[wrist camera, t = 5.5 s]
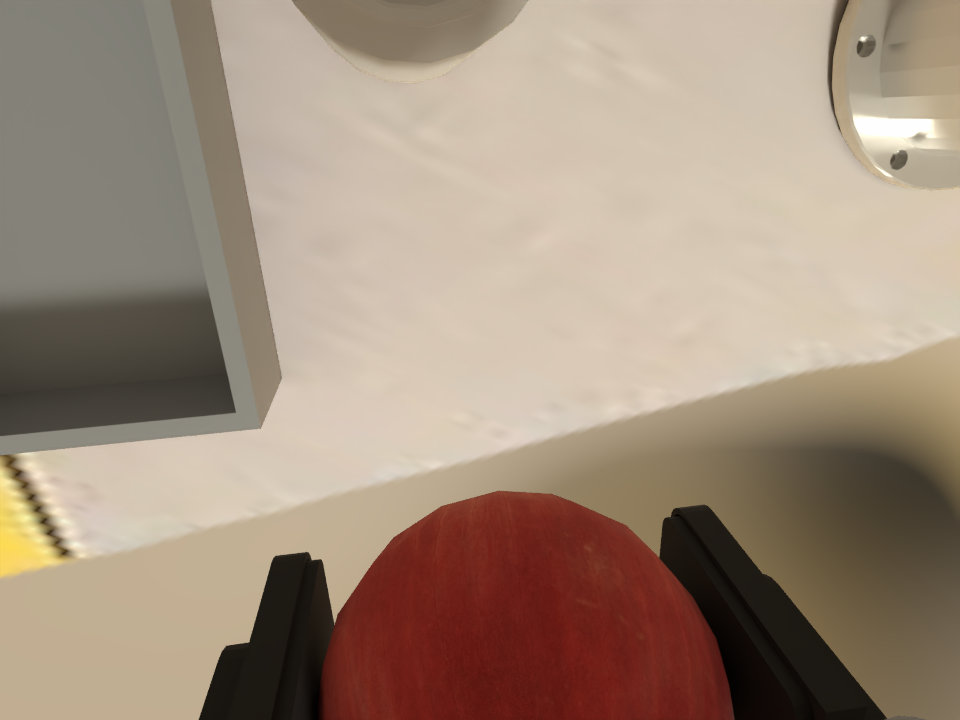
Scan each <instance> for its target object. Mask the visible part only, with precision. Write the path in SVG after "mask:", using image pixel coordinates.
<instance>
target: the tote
mask: <svg viewBox="0 0 960 720" xmlns="http://www.w3.org/2000/svg"><path fill="white" fill-rule="evenodd" d="M281 379H282V377H281V372H280V366H279V361H278V356H277V351H276V345H275V340H274V335H273V329H272V324H271V319H270V314H269V308H268V303H267V298H266V292H265V287H264V282H263V276H262V271H261V266H260V261H259V255H258V250H257V245H256V239H255V234H254V229H253V224H252V218H251V213H250V208H249V202H248V197H247V192H246V186H245V181H244V176H243V171H242V165H241V160H240V155H239V149H238V144H237V139H236V134H235V128H234V123H233V118H232V112H231V107H230V102H229V96H228V91H227V86H226V81H225V75H224V70H223V65H222V59H221V54H220V49H219V44H218V38H217V33H216V28H215V22H214V17H213V12H212V7H211V1H210V0H0V455H7V454H16V453H26V452H36V451H46V450H56V449H65V448H75V447H85V446H95V445H104V444H114V443H124V442H134V441H143V440H153V439H163V438H173V437H182V436H192V435H202V434H212V433H222V432H231V431H241V430H251V429H261V427H262V424H263V422H264V420H265V417H266V415H267V412H268V410H269V408H270V405H271V403H272V400H273V398H274V396H275V393H276V391H277V388H278V386H279V384H280V381H281Z"/></svg>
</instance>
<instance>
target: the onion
mask: <svg viewBox="0 0 960 720" xmlns="http://www.w3.org/2000/svg"><path fill="white" fill-rule="evenodd" d="M317 720H735V719H734V713H733V707H732V700H731V694H730V688H729V683H728V680H727V676H726V672H725V669H724V665H723V661H722V658H721V654H720V650H719V646H718V643H717V639H716V637H715V636H714V634H713V632H712V630H711V628H710V627H709V625H708V623H707V621H706V619H705V618H704V616H703V614H702V612H701V610H700V609H699V607H698V605H697V603H696V602H695V600H694V598H693V596H692V595H691V594H690V593H689V592H688V591H687V590H686V588H685V587H684V586H683V585H682V584H681V583H680V582H679V580H678V579H677V578H676V577H675V576H674V575H673V573H672V572H671V571H670V570H669V569H668V568H667V567H666V565H665V564H664V563H663V562H662V561H661V560H660V559H659V557H658V556H657V555H656V554H655V553H654V552H653V551H652V550H651V549H650V548H649V547H648V546H647V545H646V544H645V543H644V542H643V541H642V540H641V539H639V537H637V535H636V534H634V532H632V531H631V530H630V529H629V528H628V527H627V526H626V525H624V524H622V523H620V522H617V521H615V520H613V519H611V518H608V517H606V516H604V515H602V514H599V513H597V512H595V511H592V510H590V509H588V508H586V507H583V506H581V505H579V504H577V503H574V502H572V501H569V500H566V499H564V498H561V497H558V496H556V495H553V494H542V493H526V492H508V491H496V492H492V493H489V494H485V495H481V496H477V497H474V498H470V499H466V500H463V501H459V502H456V503H452V504H448V505H444V506H441V507H440V508H438V509H437V510H435V511H434V512H432V513H430V514H429V515H427V516H426V517H424V518H423V519H421V520H420V521H418V522H417V523H415V524H414V525H412V526H411V527H409V528H408V529H406V530H405V531H403V532H401V533H400V534H398V535H397V536H395V537H394V538H393V539H392V540H391V541H390V543H389V544H388V545H387V546H386V548H385V549H384V550H383V551H382V553H381V554H380V555H379V556H378V558H377V559H376V560H375V561H374V563H373V564H372V565H371V567H370V568H369V569H368V571H367V572H366V574H365V575H364V577H363V578H362V580H361V581H360V583H359V584H358V586H357V587H356V589H355V590H354V592H353V593H352V594H351V596H350V597H349V599H348V600H347V602H346V603H345V605H344V606H343V608H342V609H341V611H340V612H339V613H338V615H337V619H336V622H335V626H334V629H333V632H332V636H331V639H330V643H329V646H328V649H327V653H326V656H325V660H324V663H323V668H322V676H321V683H320V691H319V698H318V705H317Z"/></svg>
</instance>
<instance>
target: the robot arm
mask: <svg viewBox="0 0 960 720" xmlns="http://www.w3.org/2000/svg"><path fill="white" fill-rule="evenodd" d="M832 91H833V100H834V108H835V114H836V117H837V120H838V123H839V127H840V130H841V133H842V136H843V138H844V140H845V141H846V143H847V145H848V146H849V148H850V150H851V151H852V153H853V155H854V156H855V157H856V158H857V159H858V160H859V161H860V162H861V164H862V165H863V166H864V167H865V168H866V169H867V170H868V171H869V172H871V173H873V174H874V175H876V176H878V177H879V178H881V179H883V180H884V181H886V182H889V183H892V184H896V185H899V186H903V187H906V188H914V189H923V190H930V191H932V190H947V189H956V188H959V187H960V0H849V1H848V4H847V7H846V10H845V12H844V15H843V18H842V21H841V23H840V27H839V32H838V36H837V41H836V46H835V51H834V56H833V73H832ZM659 559H660V560H661V561H662V562H663V563H664V564H665V565H666V567H667V568H668V569H669V570H670V571H671V572H672V573H673V575H674V576H675V577H676V578H677V579H678V580H679V582H680V583H681V584H682V585H683V586H684V587H685V588H686V590H687V591H688V592H689V593H690V594H691V595H692V596H693V598H694V600H695V602H696V603H697V605H698V607H699V609H700V610H701V612H702V614H703V616H704V618H705V619H706V621H707V623H708V625H709V627H710V628H711V630H712V632H713V634H714V636H715V637H716V639H717V643H718V646H719V650H720V654H721V658H722V661H723V665H724V669H725V672H726V676H727V680H728V683H729V688H730V694H731V700H732V707H733V713H734V719H735V720H925V719H922V718H918V717H912V716H911V717H910V716H895V717H892V718H889V719H887V718H886V717H885V715H884V714H883V713H882V712H881V710H880V709H879V708H878V707H877V706H876V704H875V703H874V702H873V701H872V699H871V698H870V697H869V696H868V694H867V693H866V692H865V691H864V690H863V688H862V687H861V686H860V685H859V683H858V682H857V681H856V680H855V678H854V677H853V676H852V675H851V674H850V672H849V671H848V670H847V669H846V668H845V666H844V665H843V664H842V663H841V661H840V660H839V659H838V657H837V656H836V655H835V654H834V652H833V651H832V650H831V649H830V648H829V646H828V645H827V644H826V643H825V641H824V640H823V639H822V638H821V636H820V635H819V634H818V633H817V632H816V630H815V629H814V628H813V627H812V625H811V624H810V623H809V622H808V620H807V619H806V618H805V617H804V616H803V614H802V613H801V612H800V611H799V609H798V608H797V607H796V606H795V605H794V603H793V602H792V601H791V599H790V598H789V597H788V596H787V595H786V593H785V592H784V591H783V590H782V589H781V587H780V586H779V585H778V584H777V583H776V582H775V581H774V580H773V579H772V578H771V577H769V576H767V575H765V574H762V573H761V571H760V570H759V569H758V568H757V566H756V565H755V564H754V563H753V561H752V560H751V559H750V558H749V557H748V555H747V554H746V553H745V551H744V550H743V549H742V547H741V546H740V545H739V544H738V542H737V541H736V540H735V539H734V537H733V536H732V535H731V534H730V532H729V531H728V530H727V529H726V527H725V526H724V525H723V524H722V522H721V521H720V520H719V519H718V517H717V516H716V515H715V514H714V512H713V511H712V510H711V509H710V508H709V507H708V506H706V505H698V506H690V507H682V508H675V509H674V510H673V511H672V515H671V517H667V518H665V519H664V521H663V527H662V537H661V548H660V557H659ZM333 629H334V620H333V615H332V610H331V604H330V599H329V594H328V588H327V583H326V577H325V572H324V567H323V562H322V560H321V559H320V560H311V556H310V554H309V553H308V552H305V553H297V554H288V555H280V556H275V557H274V558H273V560H272V563H271V567H270V571H269V574H268V577H267V581H266V585H265V588H264V592H263V595H262V599H261V602H260V606H259V610H258V613H257V617H256V621H255V624H254V628H253V631H252V635H251V638H250V642H249V643H243V644H235V645H229V646H226V647H225V648H224V650H223V651H222V653H221V655H220V657H219V660H218V663H217V666H216V669H215V672H214V675H213V678H212V681H211V684H210V687H209V690H208V693H207V696H206V699H205V702H204V706H203V709H202V712H201V715H200V718H199V720H317V705H318V698H319V691H320V683H321V676H322V668H323V663H324V660H325V656H326V653H327V649H328V646H329V643H330V639H331V636H332V632H333Z"/></svg>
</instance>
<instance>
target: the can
mask: <svg viewBox="0 0 960 720" xmlns="http://www.w3.org/2000/svg"><path fill="white" fill-rule="evenodd" d="M292 1H293V3H294V4H295V6H296V7H297V8H298V9H299V10H300V11H301V13H302V14H303V15H304V16H305V17H306V19H307V20H308V21H309V22H310V23H311V25H312V26H313V27H314V28H315V29H316V30H317V32H318V33H319V34H320V35H321V36H322V38H323V39H324V40H325V41H326V42H327V44H328V45H329V46H330V47H331V48H332V49H333V50H334V51H335V52H337V53H338V54H339V55H340V56H341V57H343V58H344V59H345V60H346V61H347V62H349V63H350V64H351V65H352V66H353V67H355V68H356V69H357V70H359V71H362V72H364V73H367V74H369V75H371V76H374V77H376V78H379V79H381V80H384V81H387V82H404V83H418V82H421V81H425V80H428V79H431V78H435V77H438V76H442V75H444V74H446V73H447V72H448V71H450V70H451V69H452V68H454V67H455V66H456V65H458V64H459V63H461V62H462V61H463V60H465V59H466V58H467V57H469V56H470V55H471V54H473V53H474V52H475V51H476V50H478V49H479V48H480V47H481V46H483V45H484V44H485V43H486V42H488V41H489V40H490V39H492V38H493V37H494V36H495V35H497V34H498V33H499V32H500V31H502V30H503V29H504V28H505V27H507V26H508V25H509V24H511V23H512V22H513V21H514V19H515V18H516V17H517V15H518V14H519V12H520V11H521V10H522V8H523V7H524V5H525V4H526V3H527V1H528V0H292Z"/></svg>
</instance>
